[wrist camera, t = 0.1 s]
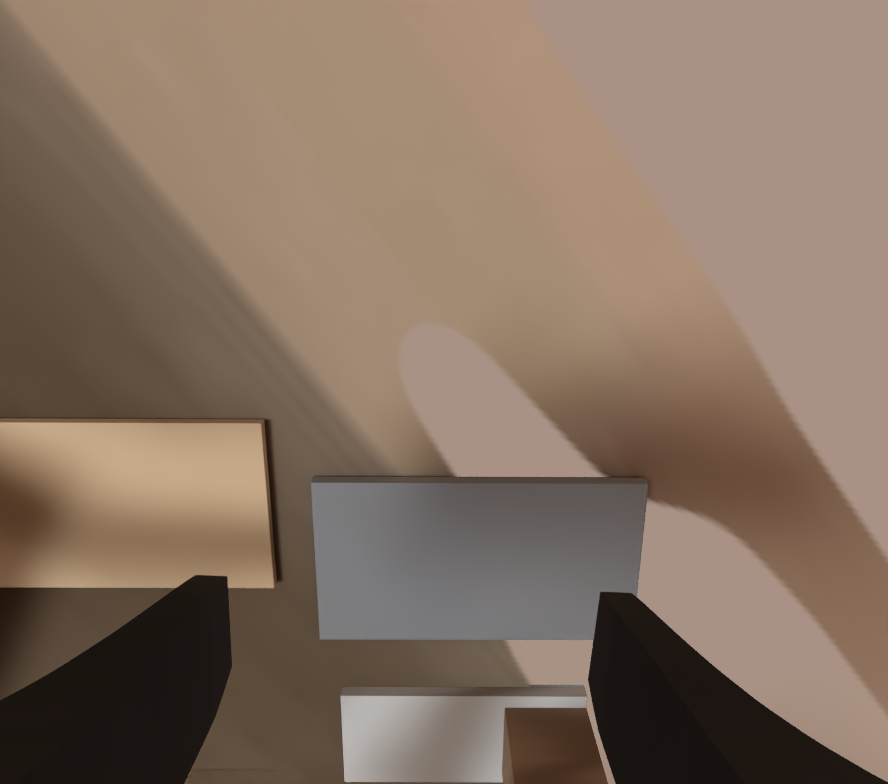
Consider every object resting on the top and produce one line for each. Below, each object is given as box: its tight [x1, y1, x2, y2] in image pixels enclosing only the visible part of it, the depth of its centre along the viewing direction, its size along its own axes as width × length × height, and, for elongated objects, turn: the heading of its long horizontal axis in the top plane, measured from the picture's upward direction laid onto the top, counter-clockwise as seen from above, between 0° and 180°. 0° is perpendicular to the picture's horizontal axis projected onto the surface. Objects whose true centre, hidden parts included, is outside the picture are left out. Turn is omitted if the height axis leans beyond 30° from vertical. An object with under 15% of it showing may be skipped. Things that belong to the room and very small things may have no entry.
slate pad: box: [311, 476, 648, 640], centre depth 22 cm, size 6×11×1 cm, turn 90°
